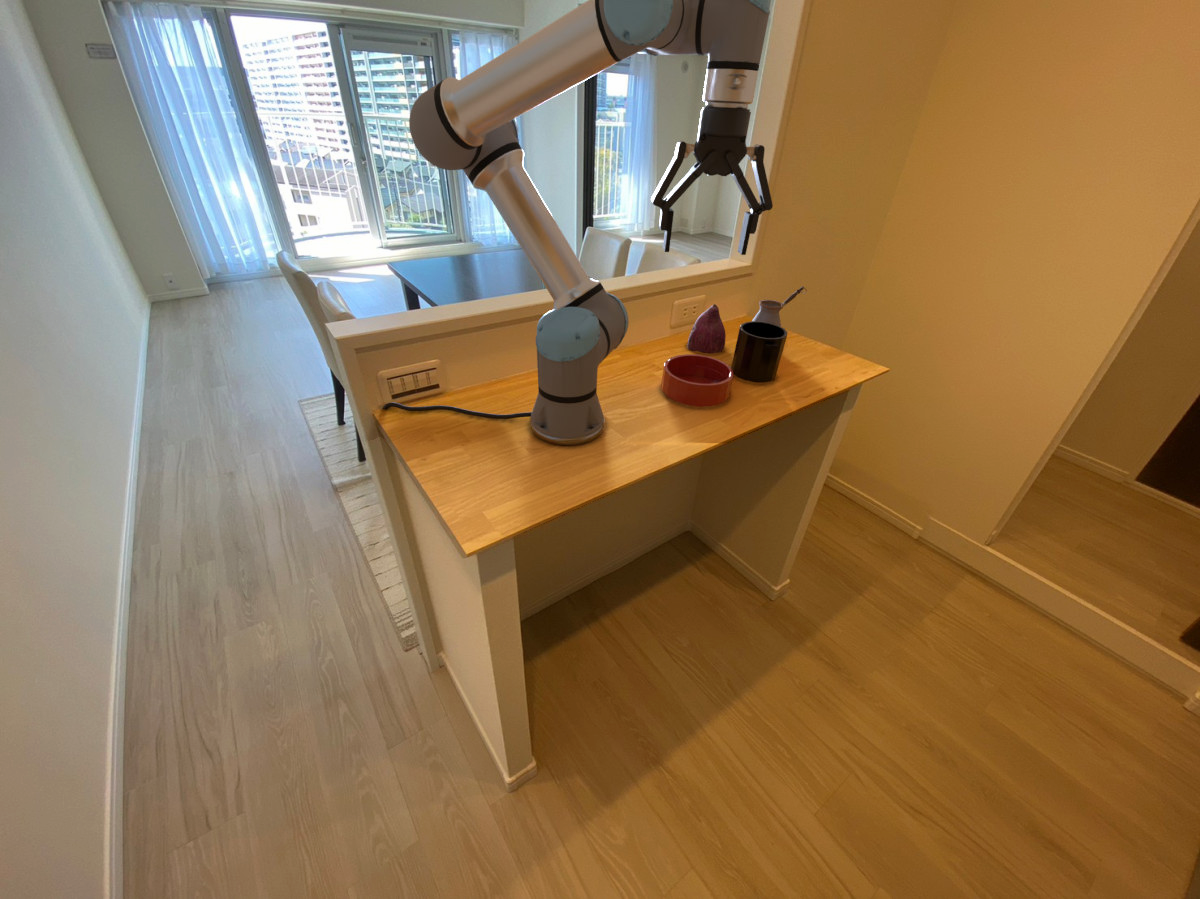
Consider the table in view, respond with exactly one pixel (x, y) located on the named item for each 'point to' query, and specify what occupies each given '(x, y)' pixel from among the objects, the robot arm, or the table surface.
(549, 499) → the table surface
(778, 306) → the coffee pot
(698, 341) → the vegetable
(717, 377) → the casserole
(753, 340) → the black cylindrical cup
